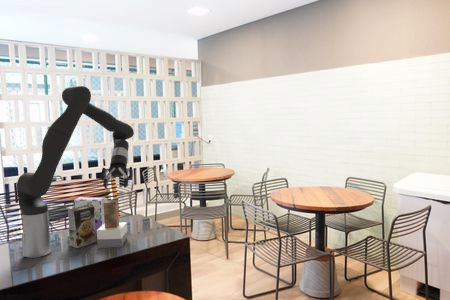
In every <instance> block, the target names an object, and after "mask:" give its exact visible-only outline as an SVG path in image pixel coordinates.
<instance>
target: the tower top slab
mask: <svg viewBox="0 0 450 300" xmlns="http://www.w3.org/2000/svg"><path fill="white" fill-rule="evenodd" d="M127 232H128V222H125V221H124V222H120V221H119V225H118V227H117V228H105V223H104V224H103V225H102V226H101V227H100V228H99V229H97V234H96V240H97V239H121V238H122V237H123V236H124V235H125V233H126V234H127Z"/></svg>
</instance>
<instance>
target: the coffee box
mask: <svg viewBox="0 0 450 300" xmlns="http://www.w3.org/2000/svg"><path fill="white" fill-rule="evenodd" d="M67 218H68V219H67V220H68V234H69V236H68V237H69V246H71V247H73V248H76V249H79V248H83V247H85V246H89V245H91V244H94V243H95V244H96V243H97V234H96V232H95V213H94V207H93V206H88V205H85V206H80V207H76V208H74V207H72V208H68V209H67Z"/></svg>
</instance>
